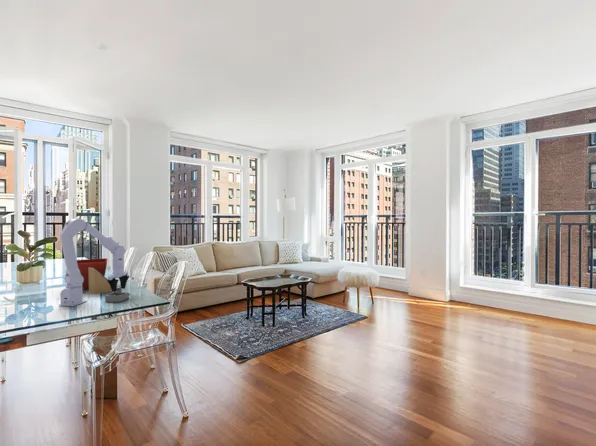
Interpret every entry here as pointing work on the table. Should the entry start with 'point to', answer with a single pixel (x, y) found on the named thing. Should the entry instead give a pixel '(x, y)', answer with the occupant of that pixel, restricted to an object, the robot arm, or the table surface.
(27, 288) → the table surface
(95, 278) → the sandwich container
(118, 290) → the lid
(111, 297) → the box
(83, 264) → the plant pot
